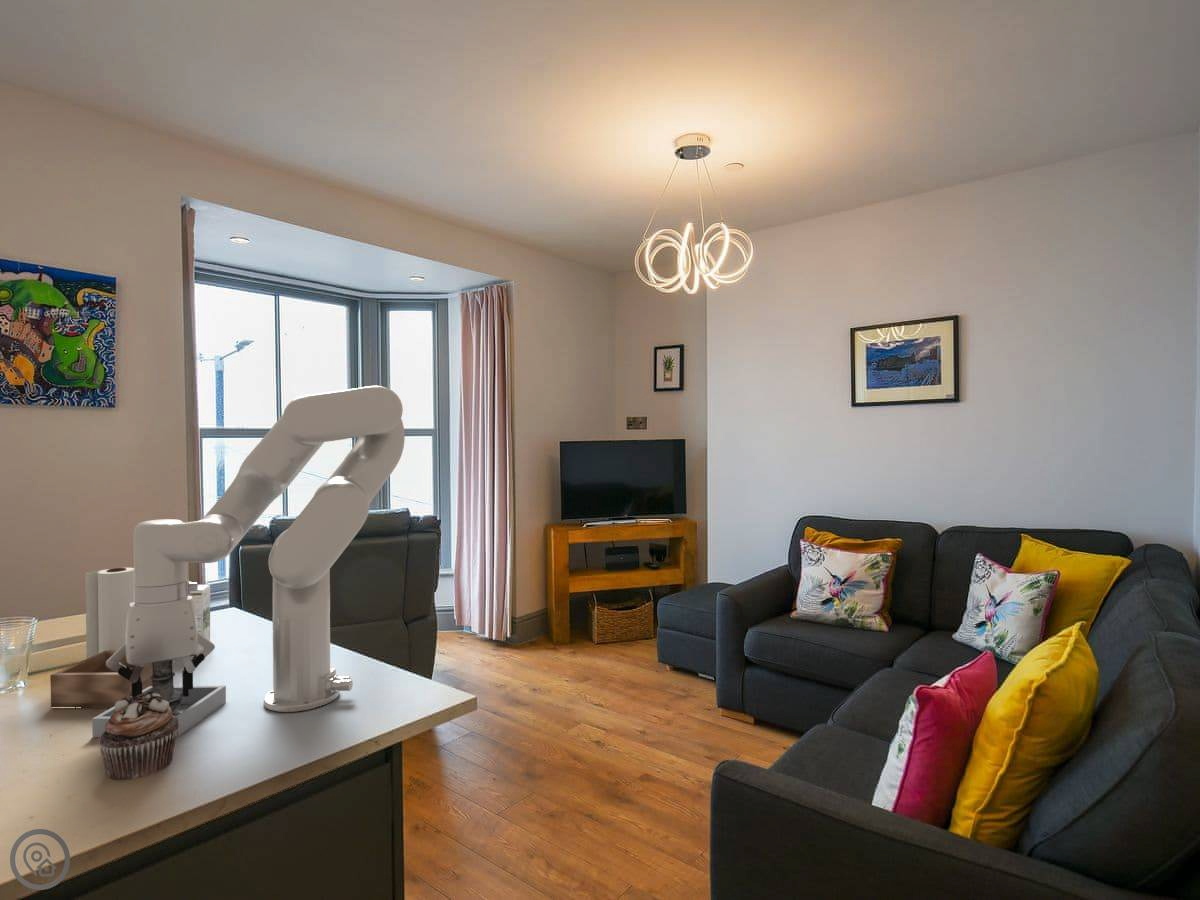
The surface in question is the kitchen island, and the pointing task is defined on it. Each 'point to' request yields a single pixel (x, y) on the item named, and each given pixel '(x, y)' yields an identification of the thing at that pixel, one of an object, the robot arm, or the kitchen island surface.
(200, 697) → the grey frame
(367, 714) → the kitchen island surface
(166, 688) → the grey chess piece
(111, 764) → the cupcake
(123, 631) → the paper towel roll
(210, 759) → the kitchen island surface
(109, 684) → the walnut bin
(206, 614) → the syrup box
